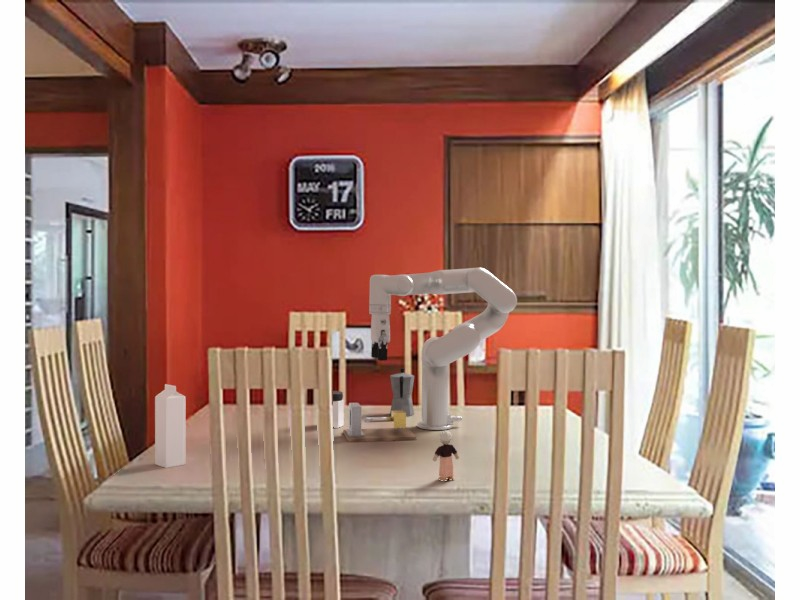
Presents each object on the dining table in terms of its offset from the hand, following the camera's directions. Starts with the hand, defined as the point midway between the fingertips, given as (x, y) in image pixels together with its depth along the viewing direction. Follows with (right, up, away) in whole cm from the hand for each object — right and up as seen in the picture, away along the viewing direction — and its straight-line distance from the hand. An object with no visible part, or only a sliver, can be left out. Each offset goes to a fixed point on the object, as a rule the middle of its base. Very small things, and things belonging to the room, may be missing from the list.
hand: (379, 358), depth 255 cm
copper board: (0, -24, -14) cm, 28 cm away
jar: (-17, -24, +2) cm, 30 cm away
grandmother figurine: (+19, -26, -68) cm, 75 cm away
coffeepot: (+8, -24, +25) cm, 35 cm away
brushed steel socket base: (-7, -24, -16) cm, 30 cm away
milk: (-56, -25, -54) cm, 82 cm away
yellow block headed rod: (+2, -21, -14) cm, 26 cm away
